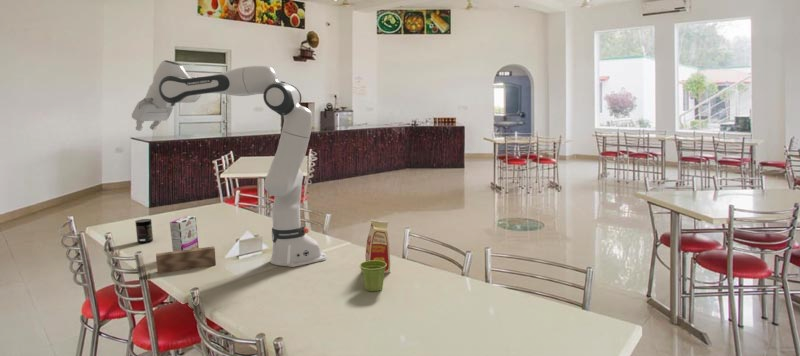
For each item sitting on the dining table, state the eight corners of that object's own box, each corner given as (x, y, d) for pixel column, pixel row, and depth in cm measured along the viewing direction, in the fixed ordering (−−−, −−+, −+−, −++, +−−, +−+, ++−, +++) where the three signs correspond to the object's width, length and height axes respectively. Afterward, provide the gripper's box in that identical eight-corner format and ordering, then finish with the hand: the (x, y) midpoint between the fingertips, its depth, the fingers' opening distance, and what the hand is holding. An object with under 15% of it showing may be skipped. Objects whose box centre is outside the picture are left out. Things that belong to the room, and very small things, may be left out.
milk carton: (369, 274, 180) (368, 222, 177) (364, 267, 189) (363, 217, 186) (393, 272, 182) (392, 221, 179) (387, 264, 191) (386, 215, 188)
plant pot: (354, 289, 166) (353, 265, 164) (372, 281, 173) (371, 258, 172) (374, 295, 160) (374, 271, 159) (392, 287, 167) (392, 263, 166)
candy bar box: (189, 251, 211) (186, 215, 208) (199, 252, 210) (196, 215, 207) (172, 259, 200) (169, 221, 197) (183, 260, 199) (179, 222, 196)
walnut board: (215, 262, 195) (214, 246, 194) (215, 265, 193) (214, 248, 192) (157, 270, 187) (156, 253, 185) (157, 273, 184) (155, 255, 183)
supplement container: (155, 239, 231) (153, 218, 230) (151, 243, 225) (149, 221, 223) (139, 240, 230) (137, 219, 228) (135, 244, 223) (133, 222, 222)
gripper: (149, 101, 181) (136, 134, 183) (178, 102, 201) (166, 132, 203) (135, 94, 181) (121, 126, 183) (165, 95, 201) (153, 125, 203)
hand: (145, 129), depth 193 cm, fingers open, 8 cm apart
